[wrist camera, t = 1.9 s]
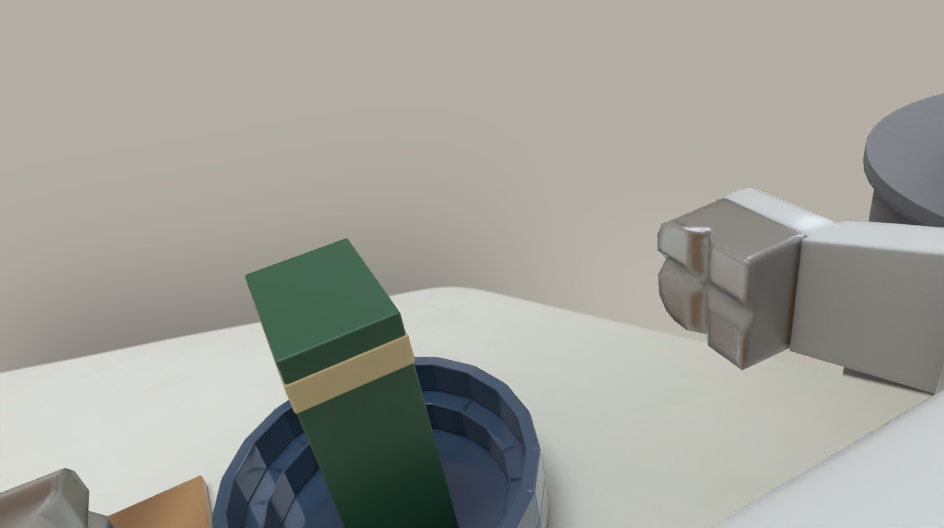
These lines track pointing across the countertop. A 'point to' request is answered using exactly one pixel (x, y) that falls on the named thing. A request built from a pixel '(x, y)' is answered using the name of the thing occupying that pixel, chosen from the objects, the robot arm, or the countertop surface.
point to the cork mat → (169, 509)
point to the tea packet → (354, 388)
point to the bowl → (458, 442)
